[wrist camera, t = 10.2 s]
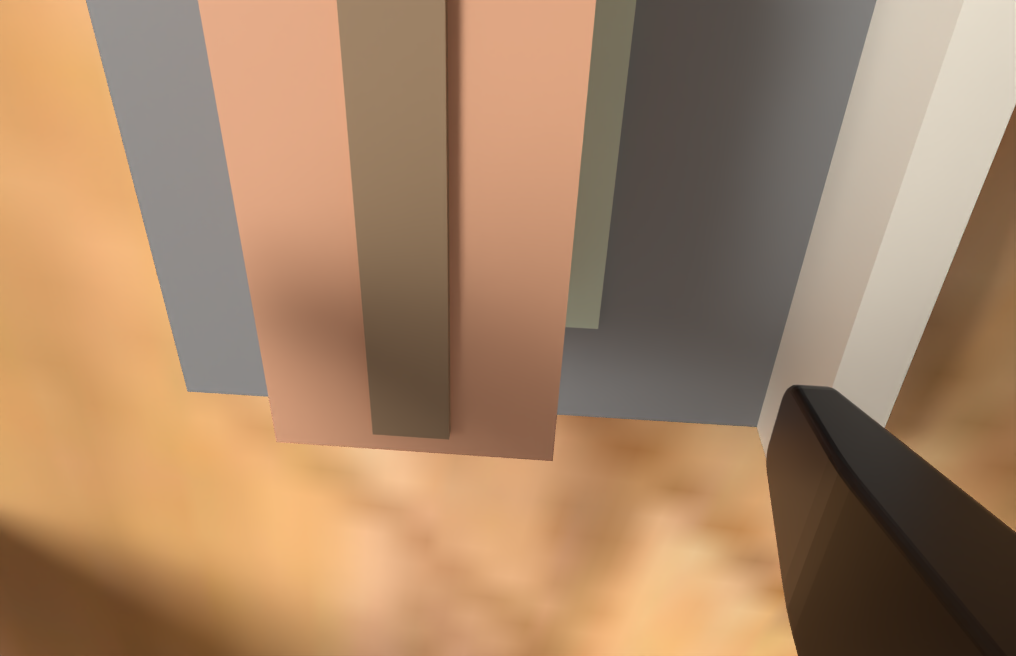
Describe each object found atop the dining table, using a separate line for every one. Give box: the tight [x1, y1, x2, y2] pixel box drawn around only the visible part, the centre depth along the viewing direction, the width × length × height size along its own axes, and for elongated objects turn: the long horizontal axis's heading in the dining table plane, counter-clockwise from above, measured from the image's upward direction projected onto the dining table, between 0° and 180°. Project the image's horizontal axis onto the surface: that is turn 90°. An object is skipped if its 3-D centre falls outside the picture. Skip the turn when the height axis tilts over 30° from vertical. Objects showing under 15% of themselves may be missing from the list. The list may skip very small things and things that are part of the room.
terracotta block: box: [198, 0, 596, 461], centre depth 12 cm, size 8×4×5 cm, turn 178°
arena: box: [86, 0, 1016, 458], centre depth 14 cm, size 15×14×4 cm
